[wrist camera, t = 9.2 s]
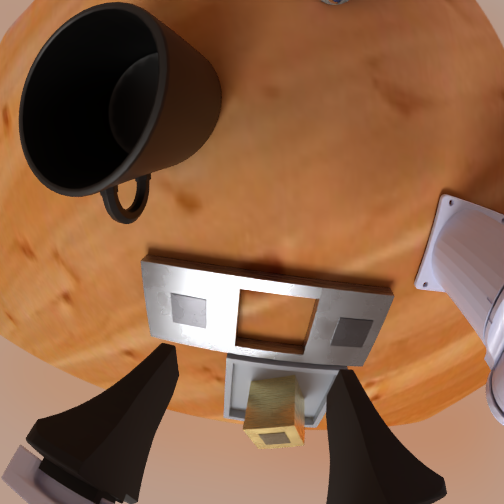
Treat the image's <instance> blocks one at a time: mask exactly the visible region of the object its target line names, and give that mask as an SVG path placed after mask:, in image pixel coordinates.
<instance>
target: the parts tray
mask: <svg viewBox="0 0 504 504" xmlns="http://www.w3.org/2000/svg"><path fill="white" fill-rule="evenodd" d="M340 369H347V366H341V365H325V364H312V363H301V362H291V361H282V360H274V359H266V358H258V357H252V356H245V355H239V354H232V353H228V354H227V359H226V378H225V399H224V418H229V419H235V420H241V421H244V420H245V414H246V408H247V402H248V396H249V390H250V384H251V381H256V380H264V379H271V378H278V377H284V376H291V375H295V376H296V378H297V381H298V383H299V386H300V389H301V391H302V394H303V397H304V407H305V427H317V426H318V424H319V423H320V421H321V419H322V418H323V416H324V414H325V412H326V400H327V394H328V392H329V390H330V388H331V386H332V384H333V382H334V380H335V378H336V376H337V374H338V372H339V370H340ZM347 370H348V369H347Z"/></svg>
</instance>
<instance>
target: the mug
mask: <svg viewBox="0 0 504 504" xmlns="http://www.w3.org/2000/svg"><path fill="white" fill-rule="evenodd" d="M221 98H222V97H221V87H220V83H219V79H218V76H217V74H216V72H215V70H214V68H213V67H212V65H211V64H210V63H209V61H208V60H207V59H206V58H205V57H203V56H202V55H201V54H200V53H199V52H198V51H197V50H195V49H194V48H193V47H192V46H191V45H190V44H188V43H187V42H186V41H185V40H184V39H182V38H181V37H180V36H179V35H177V34H176V33H175V32H174V31H172V30H171V29H170V28H169V27H167V26H166V25H165V24H164V23H162V22H161V21H160V20H158V19H157V18H156V17H154V16H153V15H151V14H150V13H149V12H147V11H146V10H144V9H143V8H141V7H138V6H136V5H133V4H129V3H123V2H112V3H104V4H100V5H96V6H93V7H91V8H88V9H86V10H83V11H82V12H80V13H78V14H77V15H75V16H73V17H72V18H70V19H69V20H68V21H67V22H65V23H64V24H63V25H62V26H61V27H60V28H59V29H57V30H56V31H55V32H54V34H53V35H52V36H51V37H50V38H49V39H48V41H47V42H46V43H45V44H44V46H43V47H42V49H41V50H40V52H39V53H38V55H37V57H36V58H35V60H34V62H33V64H32V66H31V68H30V70H29V73H28V76H27V78H26V81H25V84H24V88H23V91H22V95H21V101H20V108H19V133H20V140H21V145H22V149H23V152H24V155H25V158H26V160H27V162H28V165H29V167H30V168H31V170H32V172H33V173H34V175H35V176H36V177H37V178H38V179H39V181H40V182H41V183H42V184H44V185H45V186H46V187H47V188H49V189H50V190H52V191H54V192H56V193H58V194H61V195H65V196H71V197H83V196H88V195H92V194H96V193H98V192H100V194H101V196H102V197H103V201H104V205H105V208H106V210H107V212H108V214H109V215H110V216H111V218H112V219H113V220H115V221H117V222H119V223H123V224H130V223H133V222H134V221H136V220H137V219H138V217H139V216H140V215H141V213H142V212H143V210H144V208H145V206H146V203H147V200H148V195H149V180H150V179H151V173H152V172H155V171H158V170H161V169H164V168H167V167H170V166H174V165H177V164H179V163H181V162H183V161H184V160H186V159H188V158H189V157H190V156H192V155H193V154H194V153H196V152H197V151H198V150H199V149H200V148H201V147H202V146H203V144H204V143H205V142H206V141H207V139H208V138H209V136H210V135H211V133H212V131H213V129H214V127H215V125H216V122H217V120H218V117H219V113H220V108H221ZM132 179H135V181H136V182H137V191H136V196H135V199H134V202H133V203H132V205H131V206H130V207H129V208H128V209H126V210H125V209H123V207H122V206H121V204H120V202H119V199H118V195H117V192H118V184H121V183H124V182H126V181H129V180H132Z"/></svg>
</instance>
